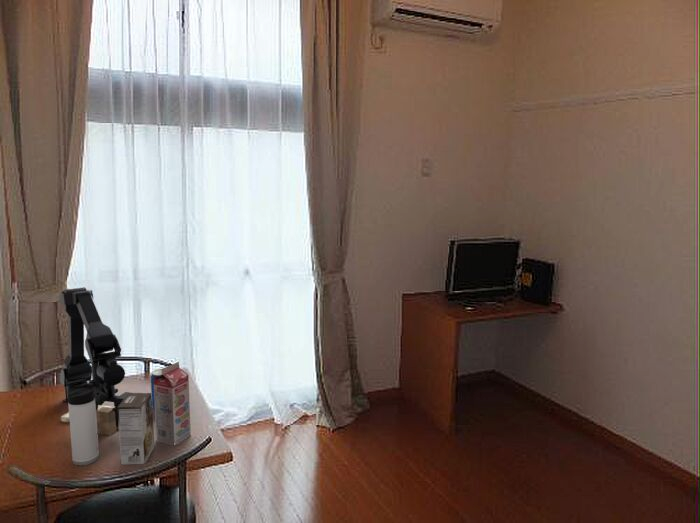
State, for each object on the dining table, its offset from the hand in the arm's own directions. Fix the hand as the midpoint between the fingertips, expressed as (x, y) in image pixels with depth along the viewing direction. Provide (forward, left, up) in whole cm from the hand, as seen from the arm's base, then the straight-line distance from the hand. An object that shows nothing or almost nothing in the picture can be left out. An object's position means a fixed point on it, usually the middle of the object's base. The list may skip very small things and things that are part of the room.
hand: (106, 425), depth 153 cm
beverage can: (+6, +19, -2) cm, 21 cm away
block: (0, +5, -2) cm, 5 cm away
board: (-7, +7, -2) cm, 10 cm away
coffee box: (+17, -10, -2) cm, 20 cm away
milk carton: (+21, +1, -2) cm, 21 cm away
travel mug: (+5, -15, -2) cm, 15 cm away
